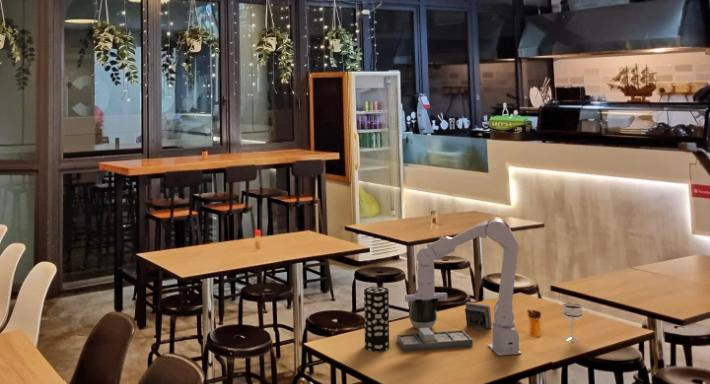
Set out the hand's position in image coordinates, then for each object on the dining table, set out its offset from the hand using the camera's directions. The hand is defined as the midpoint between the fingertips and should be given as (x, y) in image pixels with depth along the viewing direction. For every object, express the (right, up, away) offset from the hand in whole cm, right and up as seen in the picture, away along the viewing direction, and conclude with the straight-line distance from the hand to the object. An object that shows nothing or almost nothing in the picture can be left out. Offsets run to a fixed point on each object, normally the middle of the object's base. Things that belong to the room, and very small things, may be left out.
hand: (426, 320), depth 212 cm
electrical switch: (+21, -6, +18) cm, 29 cm away
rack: (+3, -8, +1) cm, 9 cm away
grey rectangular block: (0, -8, +1) cm, 8 cm away
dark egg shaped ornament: (+1, -7, +18) cm, 19 cm away
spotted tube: (-17, -9, -1) cm, 19 cm away
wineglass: (+51, -8, +4) cm, 52 cm away
